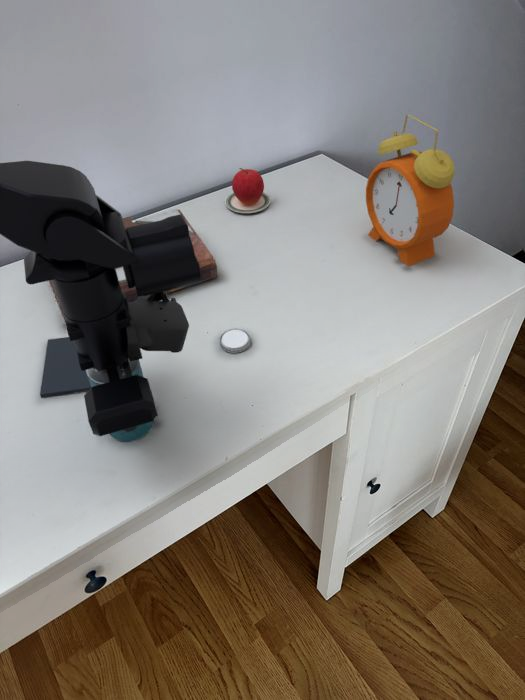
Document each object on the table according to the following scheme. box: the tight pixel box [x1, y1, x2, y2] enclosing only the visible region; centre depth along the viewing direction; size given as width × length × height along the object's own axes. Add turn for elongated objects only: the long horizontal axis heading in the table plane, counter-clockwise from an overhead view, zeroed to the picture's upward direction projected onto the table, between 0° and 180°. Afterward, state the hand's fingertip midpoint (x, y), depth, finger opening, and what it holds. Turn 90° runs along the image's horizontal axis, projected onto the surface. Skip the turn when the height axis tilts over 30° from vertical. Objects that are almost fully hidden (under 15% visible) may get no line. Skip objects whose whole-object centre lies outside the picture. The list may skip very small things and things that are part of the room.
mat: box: [39, 336, 91, 399], centre depth 74 cm, size 10×10×1 cm
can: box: [86, 359, 155, 443], centre depth 63 cm, size 6×6×10 cm
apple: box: [224, 167, 271, 214], centre depth 99 cm, size 8×8×6 cm
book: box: [48, 208, 218, 324], centre depth 85 cm, size 23×16×5 cm
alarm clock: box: [365, 114, 456, 267], centre depth 84 cm, size 13×6×20 cm, turn 30°
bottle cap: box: [219, 328, 251, 354], centre depth 76 cm, size 4×4×1 cm
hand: (125, 406), depth 65 cm, fingers open, 7 cm apart
